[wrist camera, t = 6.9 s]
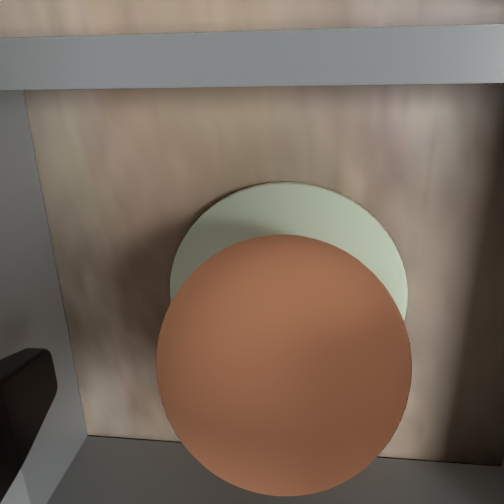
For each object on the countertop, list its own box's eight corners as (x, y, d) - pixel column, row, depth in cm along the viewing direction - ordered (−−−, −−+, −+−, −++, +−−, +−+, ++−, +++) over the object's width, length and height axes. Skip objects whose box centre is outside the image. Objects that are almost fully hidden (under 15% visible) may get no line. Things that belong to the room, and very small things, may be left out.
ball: (396, 205, 10) (471, 313, 6) (378, 386, 12) (424, 576, 8) (181, 203, 11) (94, 300, 6) (194, 377, 13) (134, 551, 8)
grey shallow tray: (647, 33, 9) (800, 15, 6) (525, 489, 13) (582, 599, 11) (-18, 49, 11) (-134, 41, 8) (67, 453, 15) (12, 540, 12)
